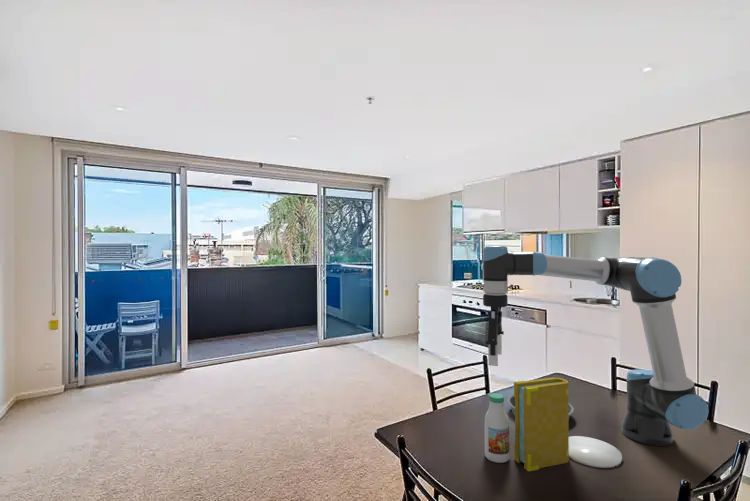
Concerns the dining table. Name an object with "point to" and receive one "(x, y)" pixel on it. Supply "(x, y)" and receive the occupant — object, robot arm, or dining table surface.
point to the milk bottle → (496, 430)
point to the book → (541, 422)
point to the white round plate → (593, 452)
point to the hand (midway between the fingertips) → (495, 359)
